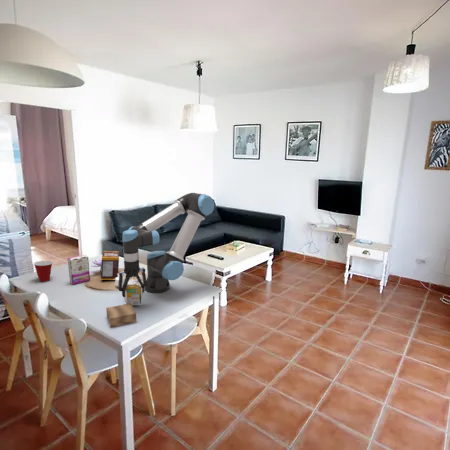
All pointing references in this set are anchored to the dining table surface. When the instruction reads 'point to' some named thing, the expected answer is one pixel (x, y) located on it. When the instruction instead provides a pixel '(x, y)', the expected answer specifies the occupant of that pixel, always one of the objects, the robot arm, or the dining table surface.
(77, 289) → the dining table surface
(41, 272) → the plastic cup
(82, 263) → the candy bar box
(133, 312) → the walnut block
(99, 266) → the water lily
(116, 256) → the supplement box
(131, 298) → the crayon box
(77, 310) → the dining table surface
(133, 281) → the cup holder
